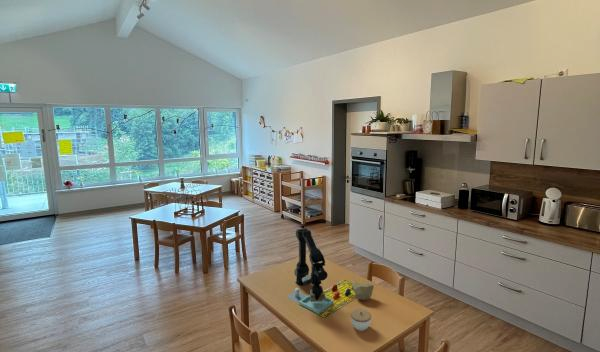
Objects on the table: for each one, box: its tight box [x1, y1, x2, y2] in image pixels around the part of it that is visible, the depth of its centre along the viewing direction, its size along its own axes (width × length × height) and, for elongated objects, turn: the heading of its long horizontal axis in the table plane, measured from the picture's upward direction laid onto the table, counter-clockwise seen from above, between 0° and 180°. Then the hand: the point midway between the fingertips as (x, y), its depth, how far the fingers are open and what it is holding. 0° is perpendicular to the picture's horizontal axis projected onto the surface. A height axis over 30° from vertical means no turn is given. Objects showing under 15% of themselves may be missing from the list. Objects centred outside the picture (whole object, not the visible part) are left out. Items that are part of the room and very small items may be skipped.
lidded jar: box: [350, 308, 372, 332], centre depth 179 cm, size 11×11×9 cm
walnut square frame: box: [309, 288, 326, 302], centre depth 201 cm, size 7×9×4 cm
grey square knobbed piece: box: [286, 287, 308, 304], centre depth 210 cm, size 10×10×6 cm
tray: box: [298, 294, 335, 315], centre depth 202 cm, size 15×15×2 cm
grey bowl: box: [350, 281, 374, 301], centre depth 208 cm, size 15×11×12 cm
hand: (316, 296), depth 201 cm, fingers closed on walnut square frame, 7 cm apart
